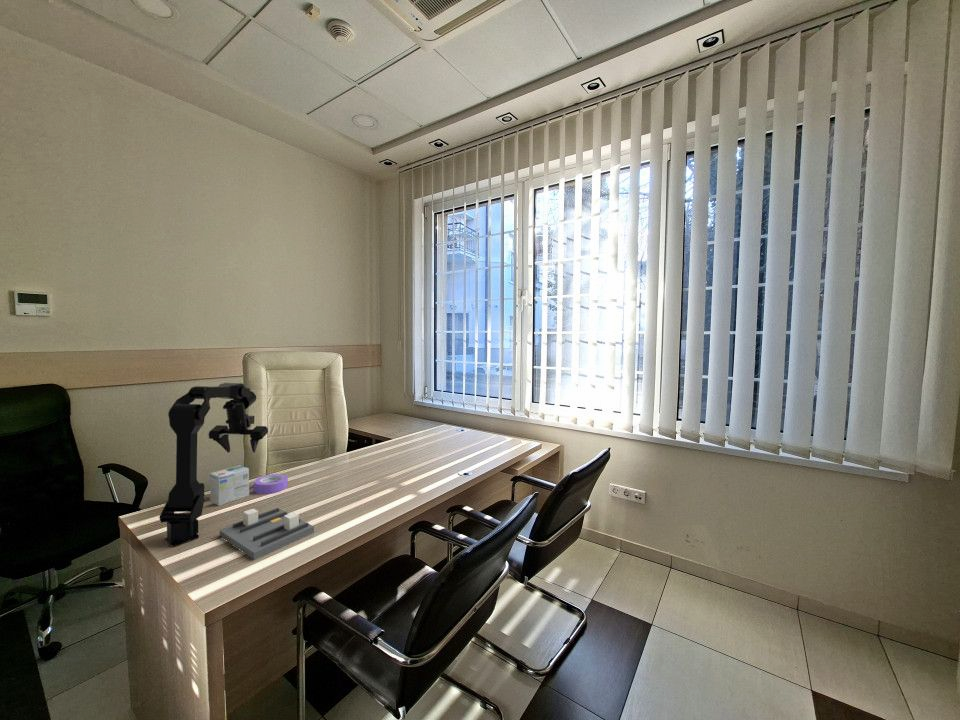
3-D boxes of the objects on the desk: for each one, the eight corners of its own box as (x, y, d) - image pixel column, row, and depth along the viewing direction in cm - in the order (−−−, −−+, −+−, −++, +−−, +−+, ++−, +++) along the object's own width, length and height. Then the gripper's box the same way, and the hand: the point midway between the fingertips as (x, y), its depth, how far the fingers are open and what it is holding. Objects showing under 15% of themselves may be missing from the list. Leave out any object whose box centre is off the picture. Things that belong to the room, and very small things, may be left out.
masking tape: (279, 480, 159) (279, 471, 158) (292, 488, 151) (292, 479, 151) (249, 488, 150) (249, 479, 149) (261, 497, 142) (261, 487, 142)
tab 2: (289, 531, 115) (289, 518, 114) (283, 528, 116) (283, 515, 116) (298, 527, 117) (298, 514, 117) (293, 524, 119) (293, 512, 119)
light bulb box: (240, 491, 146) (240, 464, 145) (249, 496, 143) (249, 468, 142) (209, 501, 137) (208, 472, 136) (218, 506, 134) (218, 476, 133)
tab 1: (248, 527, 116) (248, 514, 116) (243, 524, 118) (243, 511, 117) (258, 523, 119) (258, 511, 118) (253, 520, 120) (253, 508, 120)
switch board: (254, 559, 104) (254, 549, 104) (219, 536, 115) (219, 526, 114) (313, 532, 119) (314, 523, 119) (278, 514, 130) (278, 505, 130)
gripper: (272, 406, 149) (276, 441, 154) (221, 405, 147) (227, 440, 152) (259, 419, 139) (263, 456, 143) (204, 418, 137) (211, 456, 142)
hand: (241, 452), depth 145 cm, fingers open, 9 cm apart
